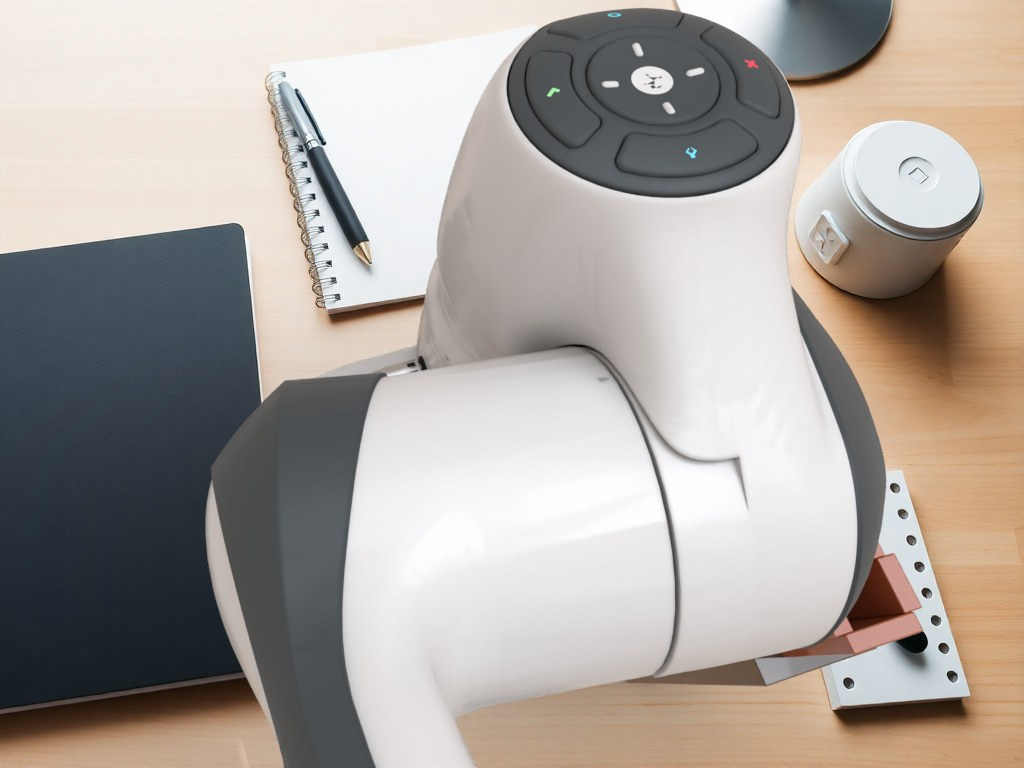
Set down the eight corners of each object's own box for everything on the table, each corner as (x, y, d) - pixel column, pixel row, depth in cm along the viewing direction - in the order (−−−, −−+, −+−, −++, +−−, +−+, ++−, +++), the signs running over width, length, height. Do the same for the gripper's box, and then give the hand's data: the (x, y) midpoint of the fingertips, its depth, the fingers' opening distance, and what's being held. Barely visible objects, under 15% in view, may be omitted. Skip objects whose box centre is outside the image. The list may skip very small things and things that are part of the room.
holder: (705, 657, 69) (965, 643, 40) (628, 683, 69) (836, 688, 39) (670, 575, 72) (893, 506, 42) (595, 600, 71) (769, 546, 42)
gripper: (307, 477, 33) (319, 535, 46) (773, 338, 35) (658, 431, 48) (265, 337, 35) (288, 430, 48) (708, 213, 37) (615, 335, 50)
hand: (476, 430), depth 48 cm, fingers open, 8 cm apart
